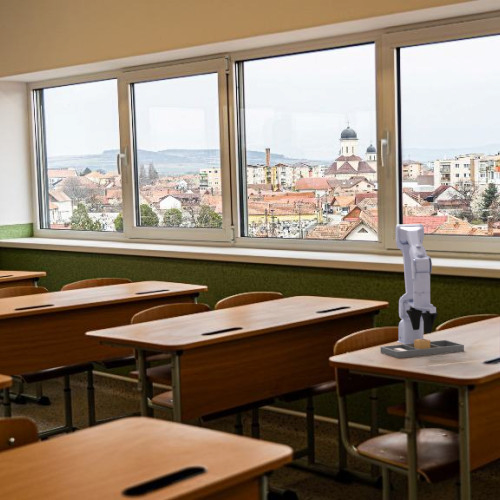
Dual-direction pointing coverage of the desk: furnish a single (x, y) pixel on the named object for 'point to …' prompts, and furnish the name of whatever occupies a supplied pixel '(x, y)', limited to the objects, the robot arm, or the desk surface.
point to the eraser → (400, 349)
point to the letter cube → (421, 343)
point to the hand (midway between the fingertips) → (422, 331)
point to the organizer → (435, 348)
